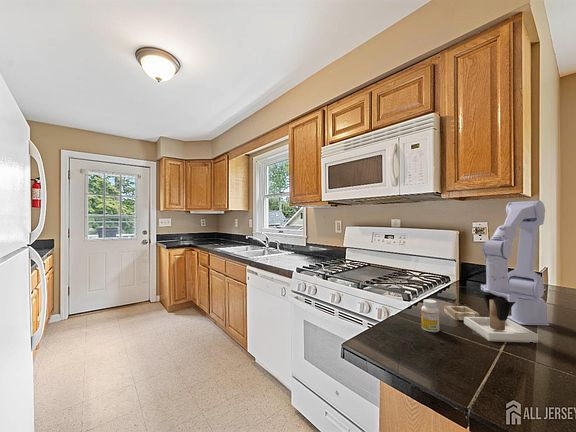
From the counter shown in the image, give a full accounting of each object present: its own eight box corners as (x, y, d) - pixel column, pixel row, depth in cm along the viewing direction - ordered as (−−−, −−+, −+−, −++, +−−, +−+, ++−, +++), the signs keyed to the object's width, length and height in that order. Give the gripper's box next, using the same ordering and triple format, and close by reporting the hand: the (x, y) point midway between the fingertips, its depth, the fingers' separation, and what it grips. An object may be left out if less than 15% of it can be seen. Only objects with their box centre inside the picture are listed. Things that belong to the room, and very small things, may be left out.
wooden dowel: (500, 325, 92) (499, 299, 92) (508, 330, 88) (507, 302, 88) (487, 325, 92) (486, 298, 92) (494, 330, 88) (494, 302, 88)
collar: (466, 312, 109) (466, 306, 109) (479, 320, 101) (479, 313, 101) (444, 312, 110) (444, 305, 110) (454, 319, 101) (454, 313, 101)
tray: (505, 324, 96) (505, 317, 96) (538, 342, 82) (538, 334, 82) (464, 323, 98) (463, 316, 98) (488, 341, 84) (488, 332, 84)
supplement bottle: (427, 325, 97) (426, 297, 97) (442, 330, 92) (442, 301, 92) (418, 328, 94) (418, 300, 94) (434, 333, 89) (433, 304, 89)
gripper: (471, 272, 98) (472, 309, 98) (498, 281, 83) (499, 325, 83) (492, 272, 97) (493, 310, 97) (523, 281, 83) (524, 326, 82)
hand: (497, 317), depth 90 cm, fingers closed on wooden dowel, 4 cm apart
